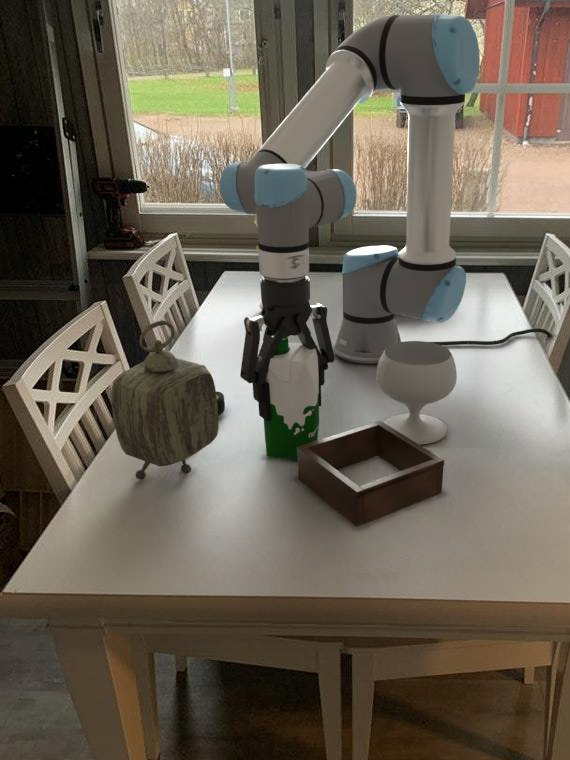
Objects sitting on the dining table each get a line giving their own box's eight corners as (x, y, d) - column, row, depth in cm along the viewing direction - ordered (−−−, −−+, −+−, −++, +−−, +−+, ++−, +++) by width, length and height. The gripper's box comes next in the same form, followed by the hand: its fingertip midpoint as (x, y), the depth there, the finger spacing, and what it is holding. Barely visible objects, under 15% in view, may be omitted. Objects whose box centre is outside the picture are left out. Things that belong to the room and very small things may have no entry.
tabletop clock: (186, 445, 127) (169, 304, 114) (227, 458, 123) (213, 314, 110) (124, 481, 116) (97, 331, 103) (166, 497, 112) (143, 343, 99)
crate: (379, 451, 126) (380, 420, 123) (442, 493, 114) (444, 459, 111) (297, 479, 118) (296, 446, 114) (356, 527, 106) (356, 492, 103)
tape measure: (225, 405, 141) (223, 387, 139) (226, 421, 135) (224, 402, 133) (189, 408, 140) (186, 390, 138) (188, 423, 134) (186, 405, 132)
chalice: (399, 455, 124) (403, 374, 117) (361, 422, 135) (362, 345, 127) (467, 438, 130) (474, 359, 122) (425, 408, 141) (430, 333, 133)
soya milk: (275, 435, 130) (269, 327, 120) (324, 440, 129) (322, 332, 118) (259, 458, 123) (252, 346, 112) (311, 464, 121) (308, 351, 111)
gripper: (231, 293, 102) (243, 436, 114) (357, 270, 113) (356, 402, 125) (208, 281, 107) (221, 418, 119) (331, 260, 118) (332, 388, 130)
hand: (290, 410), depth 122 cm, fingers closed on soya milk, 9 cm apart
